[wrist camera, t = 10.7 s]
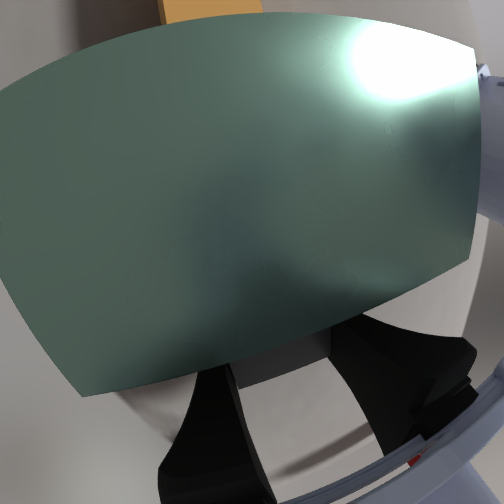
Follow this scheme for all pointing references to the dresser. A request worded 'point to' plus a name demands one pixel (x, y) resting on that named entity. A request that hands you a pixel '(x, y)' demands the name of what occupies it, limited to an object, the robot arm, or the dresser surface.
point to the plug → (301, 350)
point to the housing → (231, 187)
